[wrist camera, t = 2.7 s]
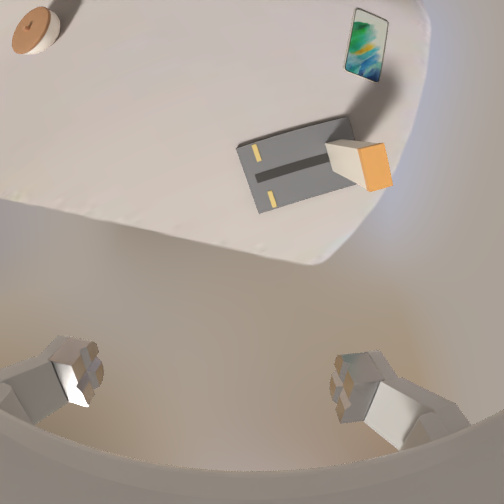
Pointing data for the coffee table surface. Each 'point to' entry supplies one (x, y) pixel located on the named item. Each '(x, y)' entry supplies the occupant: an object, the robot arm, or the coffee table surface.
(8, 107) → the coffee table surface
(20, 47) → the lidded jar
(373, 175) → the fader tab
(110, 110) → the coffee table surface
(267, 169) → the board
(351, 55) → the smartphone
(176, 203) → the coffee table surface
